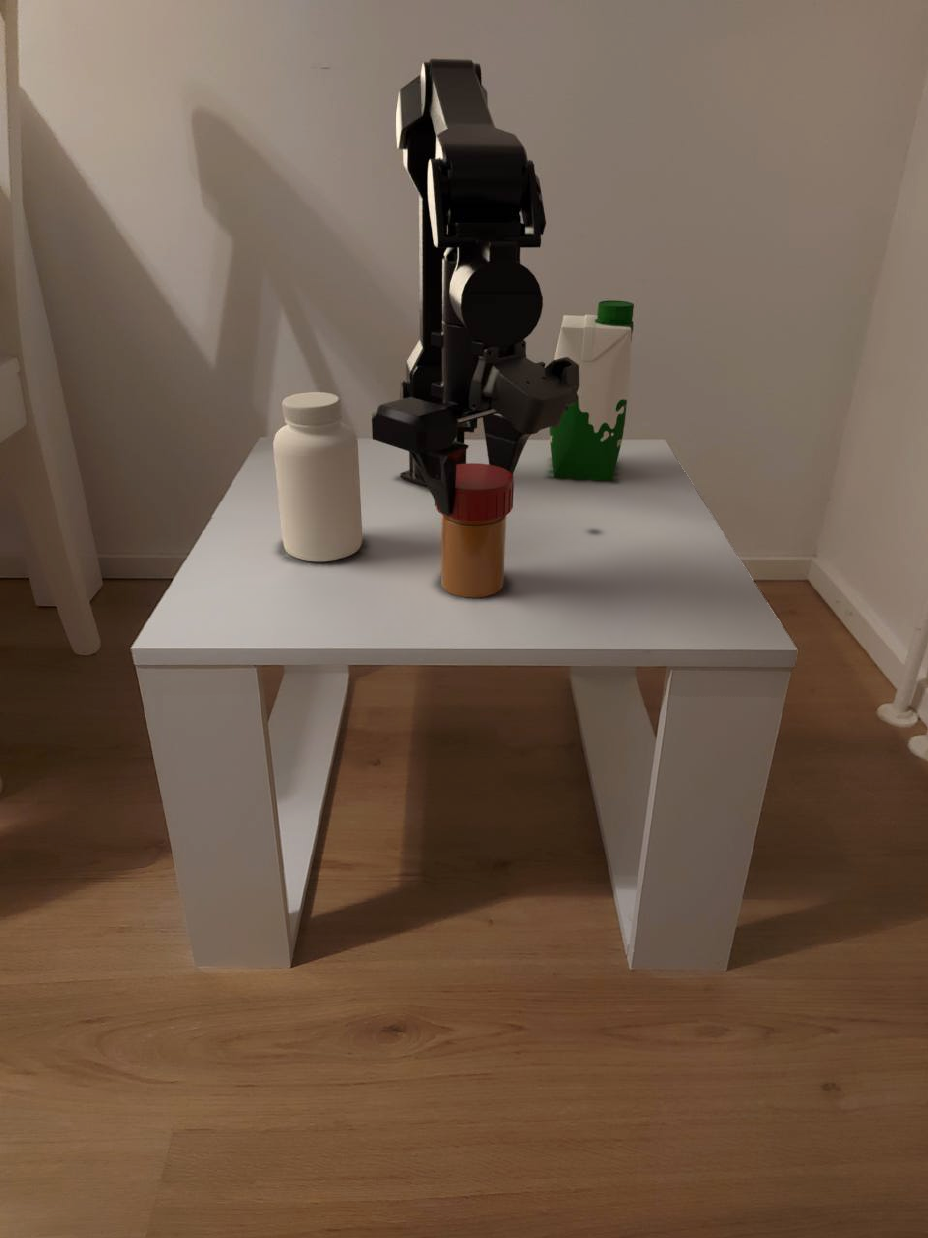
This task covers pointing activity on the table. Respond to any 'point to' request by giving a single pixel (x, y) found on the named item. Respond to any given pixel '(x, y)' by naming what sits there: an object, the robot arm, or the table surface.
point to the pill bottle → (317, 479)
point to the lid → (482, 493)
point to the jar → (472, 556)
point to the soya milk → (594, 392)
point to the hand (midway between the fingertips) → (473, 503)
